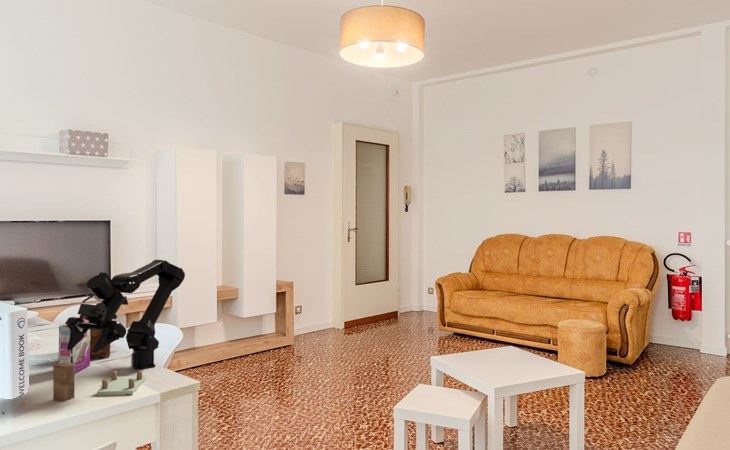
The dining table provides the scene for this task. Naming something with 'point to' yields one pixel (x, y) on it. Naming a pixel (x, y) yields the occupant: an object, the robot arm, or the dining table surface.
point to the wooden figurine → (93, 340)
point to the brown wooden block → (63, 382)
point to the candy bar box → (74, 349)
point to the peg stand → (121, 384)
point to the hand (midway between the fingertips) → (80, 351)
